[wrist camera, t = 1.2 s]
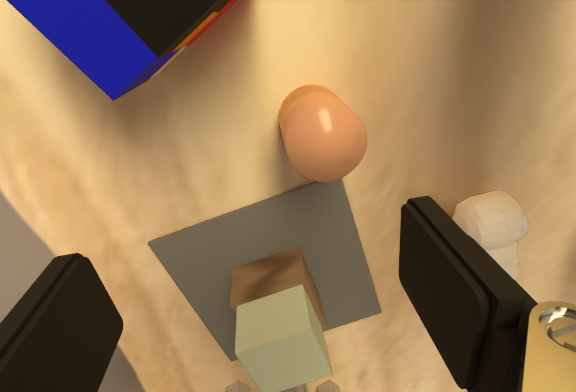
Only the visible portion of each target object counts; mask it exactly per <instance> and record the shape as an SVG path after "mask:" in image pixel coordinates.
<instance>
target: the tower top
mask: <svg viewBox="0 0 576 392" xmlns="http://www.w3.org/2000/svg"><path fill="white" fill-rule="evenodd" d="M235 354H236V356H237V357H238V359H239V360H240V362H241V363H242V365H243V366H244V367H245V369H246V370H247V372H248V373H249V375H250V376H251V378H252V379H253V381H254V382H255V383H256V385H257V386H258V388H259V389H260V391H261V392H280V391H283V390H286V389H289V388H292V387H295V386H299V385H302V384H305V383H308V382H311V381H315V380H318V379H321V378H324V377H327V376H331V375H333V372H332V368H331V364H330V359H329V355H328V351H327V347H326V342H325V338H324V334H323V329H322V327H321V324H320V322H319V320H318V318H317V316H316V313H315V311H314V309H313V307H312V304H311V302H310V300H309V298H308V295H307V293H306V291H305V289H304V286H303V284H301V285H298V286H295V287H292V288H289V289H286V290H283V291H280V292H277V293H275V294H272V295H269V296H266V297H263V298H260V299H257V300H254V301H251V302H248V303H245V304H242V305H239V306H237V318H236V340H235Z"/></svg>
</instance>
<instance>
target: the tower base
mask: <svg viewBox="0 0 576 392" xmlns="http://www.w3.org/2000/svg"><path fill="white" fill-rule="evenodd" d="M301 284H303V286H304V289H305V291H306V293H307V295H308V298H309V300H310V302H311V304H312V307H313V309H314V311H315V313H316V316H317V318H318V320H319V322H320V324H321V327H322V329H323V331H326V330H328V327H327V323H326V319H325V315H324V311H323V307H322V303H321V299H320V295H319V292H318V290H317V288H316V285H315V283H314V280H313V278H312V276H311V273H310V271H309V269H308V266H307V264H306V262H305V259H304V257H303V254H302V252H301V250H300V247H299V246H296V247H294V248H291V249H288V250H285V251H282V252H279V253H276V254H273V255H270V256H268V257H265V258H262V259H259V260H256V261H253V262H250V263H247V264H245V265H242V266H239V267H236V268H233V269H232V282H231V296H230V305H231V307H232V308H233V310H234V312H235V313H236V315H237V306H239V305H242V304H245V303H248V302H251V301H254V300H257V299H260V298H263V297H266V296H269V295H272V294H275V293H277V292H280V291H283V290H286V289H289V288H292V287H295V286H298V285H301Z"/></svg>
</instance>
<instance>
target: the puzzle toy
mask: <svg viewBox="0 0 576 392" xmlns="http://www.w3.org/2000/svg"><path fill="white" fill-rule="evenodd" d="M7 1H8V2H9V3H10V4H11V5H12V6H13V7H14V8H15V9H16V10H18V11H19V12H20V13H21V14H22V15H23V16H24V17H25V18H26V19H27V20H28V21H29V22H30V23H31V24H32V25H33V26H35V27H36V28H37V29H38V30H39V31H40V32H41V33H42V34H43V35H44V36H45V37H46V38H47V39H48V40H49V41H50V42H52V43H53V44H54V45H55V46H56V47H57V48H58V49H59V50H60V51H61V52H62V53H63V54H64V55H65V56H66V57H68V58H69V59H70V60H71V61H72V62H73V63H74V64H75V65H76V66H77V67H78V68H79V69H80V70H81V71H82V72H83V73H85V74H86V75H87V76H88V77H89V78H90V79H91V80H92V81H93V82H94V83H95V84H96V85H97V86H98V87H99V88H101V89H102V90H103V91H104V92H105V93H106V94H107V95H108V96H109V97H110V98H111V99H112V100H113V101H114V100H115V99H117V98H119V97H120V96H122V95H124V94H126V93H127V92H129V91H131V90H132V89H134V88H136V87H137V86H139V85H141V84H142V83H144V82H146V81H147V80H149V79H151V78H152V77H154V76H156V75H157V74H159V73H160V72H161V71H162V70H163V69H164V68H166V67H167V66H168V65H169V64H170V63H171V62H172V61H173V60H174V59H175V58H176V57H177V56H178V55H179V54H180V53H181V52H182V51H183V50H184V49H186V48H187V47H188V46H189V45H190V44H191V43H192V42H193V41H194V40H195V39H196V38H197V37H198V36H199V35H200V34H201V33H202V32H203V31H204V30H206V29H207V28H208V27H209V26H210V25H211V24H212V23H213V22H214V21H215V20H216V19H217V18H218V17H219V16H220V15H221V14H222V13H223V12H224V11H226V10H227V9H228V8H229V7H230V6H231V5H232V4H233V3H234V2H235V1H236V0H7Z"/></svg>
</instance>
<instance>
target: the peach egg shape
mask: <svg viewBox="0 0 576 392" xmlns="http://www.w3.org/2000/svg"><path fill="white" fill-rule="evenodd" d="M279 126H280V130H281V133H282V137H283V140H284V144H285V148H286V151H287V155H288V158H289V161H290V163H291V165H292V166H293V168H294V169H295V170H296V171H297V172H298V173H299V174H300V175H302V176H303V177H305V178H307V179H310V180H313V181H318V182H328V181H334V180H337V179H340V178H342V177H344V176H346V175H347V174H349V173H350V172H351V171H352V170H353V169H355V168H356V166H357V165H358V164H359V163H360V161H361V159H362V158H363V156H364V153H365V150H366V146H367V133H366V128H365V125H364V123H363V121H362V120H361V118H360V117H359V116H358V115H357V114H356V113H355V112H354V111H353V110H352V109H351V108H350V107H348V106H347V105H346V104H345V103H344V102H343V101H342V100H341V99H339V98H338V97H337V96H336V95H335V94H334V93H333V92H331V91H330V90H329V89H327V88H325V87H323V86H319V85H305V86H302V87H299V88H297V89H295V90H294V91H292V92H291V93H290V94H289V95H288V96H287V97H286V98H285V100H284V101H283V103H282V105H281V108H280V111H279Z"/></svg>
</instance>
